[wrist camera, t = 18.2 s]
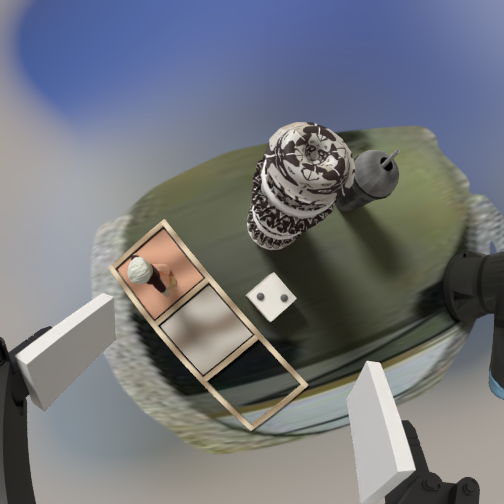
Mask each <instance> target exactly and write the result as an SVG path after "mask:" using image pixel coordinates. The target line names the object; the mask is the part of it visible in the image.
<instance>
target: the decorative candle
mask: <svg viewBox="0 0 504 504" xmlns="http://www.w3.org/2000/svg"><path fill="white" fill-rule="evenodd" d="M256 171H257V172H255V174H254V177H253V183H254V186H253V189H252V194H253V196H252V203H251V207H250V209H249V213H248V214H249V215H248V216H247V226H248V232H249V234H250V236H251V238H252V240H253V241H254V242H255V243H257V244H258V245H259V246H260V247H262V248H266V249H269V250H277V249H282V248H284V247H286V246H288V245H289V244H290V243H293V242H294V241H295V240H296V239H297V238H298V237H300V236H301V234H302V232H305V231H307V230H308V228H311V227H313V226H315V225H317V223H318V222H320V221H322V220H324V219H325V218H326V216H327V215H328V214H330V213H331V212H332V211H333V205H334V204H336V202H337V199H339V198H341V197H343V196H344V195H345V194H346V193H347V191H348V190H349V188H350V187H351V186H352V184H353V180H354V174H355V165H354V161H353V157H352V153H351V151H350V150H349V148H348V147H347V145H346V144H345V142H344V141H343V140H342V138H340V137H339V136H338V135H336V134H335V133H334V132H332V131H331V130H330V129H328V128H326V127H323V126H320V125H318V124H314V123H305V122H295V123H293V124H290V125H287V126H284V127H282V128H280V129H279V130H278V131H277V132H276V133H275V134H274V135H273V136H272V137H271V138H270V140H269V143H268V146H267V149H266V152H265V155H264V157H263V160H260V161H258V164H257V166H256Z"/></svg>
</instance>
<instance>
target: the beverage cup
mask: <svg viewBox="0 0 504 504" xmlns="http://www.w3.org/2000/svg"><path fill="white" fill-rule="evenodd" d="M398 153H399V150H398V149H397V150H396V151H395V152H394V153H393V154H392V155H391V156H390V155H389V154H387V153H385V152H383V151H380V150H369V151H366V152H364V153H362V154H360V155H358V156H357V157H356V158H355V159H354V165H355V174H354V180H353V184H352V186H351V187H350V188H349V190H348V191H347V193H346V194H345V195H344V196H343V197H341V198H339V199H337V202H336V204H335V205H336V206H337V208H339V209H340V210H342V211H345V212H348V211H351V210H355V209H357V208H359V207H361V206H363V205H365V204H367V203H370V202H372V201H374V200H378V199H383V198H386V197H388V196H389V195H390V194H391V193H392V191H393V190H394V189H395V187H396V185H397V183H398V179H399V171H398V167H397V164H396V162H395V161H394V159H393V158H394V157H395V156H396V155H397V154H398Z"/></svg>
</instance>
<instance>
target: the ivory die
mask: <svg viewBox="0 0 504 504" xmlns="http://www.w3.org/2000/svg"><path fill="white" fill-rule="evenodd" d="M246 296H247V298H248V299H249V300H250V301H251V302H252V303H253V304H254V306H255V307H256V308H257V309H258V310H259V311H260V312H261V314H262V315H263V316H264V317H265V318H266V319H267V320H268V321H270V322H271V321H272V320H274V319H275V318H276V317H277V316H278V315H279V314H280V313H282V312H283V311H284V310H285V309H286V308H287V307H288V306H289V305H290V304H292V303H293V302H294V301H295V300H296V299H297V298H296V297H295V296H294V295H293V294H292V293H291V291H290V290H289V289H288V288H287V287H286V286H285V284H284V283H283V282H282V281H281V280H280V279H279V277H278V276H277V275H276V274H275V273H272V274H270V275H268V276H267V277H266V278H265V279H264V280H263V281H261V282H260V283H259V284H258V285H257V286H256V287H255V288H253V289H252V290H251V291H250V292H249V293H248V294H246Z"/></svg>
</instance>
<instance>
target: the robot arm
mask: <svg viewBox="0 0 504 504" xmlns="http://www.w3.org/2000/svg"><path fill="white" fill-rule="evenodd" d="M443 293H444V299H445V303H446V306H447V309H448V311H449V312H450V314H451V315H452V316H453V317H454V318H455V319H457V320H459V321H472V320H475V319H477V318H480V317H482V316H484V315H487V314H493V313H494V334H493V346H492V355H491V363H490V368H489V373H490V374H489V387H490V390H491V391H492V393H493V394H494V395H495V396H497V397H499V398H500V399H503V400H504V252H500V253H495V254H490V255H485V254H481V253H478V252H474V251H464V252H459V253H457V254H456V255H454V256H453V257H452V258H451V260H450V261H449V263H448V265H447V268H446V271H445V275H444V282H443ZM115 340H116V336H115V317H114V297H112V296H109V295H107V294H104V293H102V294H101V295H99V296H98V297H96V298H95V299H93V300H92V301H90V302H89V303H88V304H86V305H84V306H83V307H82V308H80V309H79V310H77V311H76V312H75V313H73V314H71V315H70V316H69V317H67V318H66V319H64V320H63V321H62V322H60V323H59V324H57V325H56V326H55V327H51V326H49V327H46V328H43V329H41V330H39V331H38V332H36V333H35V334H34V336H31V337H30V338H28V340H25V341H24V342H22V343H21V344H20V345H18V346H17V347H16V348H14V349H13V350H12V351H10V352H9V353H8V351H7V348H6V344H5V341H4V340H3V338H1V337H0V504H36V502H35V497H34V491H33V486H32V479H31V472H30V464H29V453H28V438H27V400H26V397H27V396H28V395H30V397H31V399H32V402H33V403H34V404H35V405H37V406H38V407H39V408H41V409H42V410H43V411H46V409H47V408H48V407H49V406H50V405H51V404H52V403H53V402H54V401H55V400H56V399H57V398H58V397H59V396H60V395H61V394H62V393H63V392H64V391H65V390H66V389H67V388H68V387H69V386H70V385H71V383H73V381H75V380H76V378H77V377H78V376H79V375H80V374H81V373H82V372H83V371H84V370H85V369H86V368H87V367H88V366H89V365H90V364H91V363H92V362H93V361H94V360H95V359H96V358H97V357H98V356H99V355H100V354H101V353H102V352H103V351H104V350H105V349H106V348H108V347H109V346H110V345H111V344H112V343H113V342H114V341H115ZM346 401H347V406H348V412H349V419H350V425H351V432H352V438H353V446H354V453H355V460H356V468H357V478H358V486H359V497H360V504H369V503H377V502H379V501H380V500H381V499H382V498H384V497H385V502H386V503H385V504H479V494H480V489H479V485H478V483H477V481H476V480H475V479H473V478H471V477H465V478H463V479H461V480H460V481H459V482H458V483H456V484H454V483H446V482H442V480H441V479H440V477H439V476H438V475H436V474H435V473H432V472H429V470H428V466H427V463H426V460H425V457H424V454H423V451H422V448H421V446H420V442H419V439H418V436H417V433H416V430H415V428H414V427H413V426H412V424H411V423H410V422H409V421H408V420H405V421H403V420H401V419H400V417H399V414H398V411H397V408H396V405H395V402H394V399H393V396H392V393H391V391H390V388H389V385H388V383H387V380H386V377H385V375H384V372H383V369H382V367H381V364H380V363H378V362H371V361H366V363H365V365H364V367H363V369H362V371H361V373H360V375H359V377H358V379H357V381H356V383H355V385H354V387H353V388H352V390H351V392H350V394H349V396H348V397H347V399H346Z"/></svg>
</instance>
